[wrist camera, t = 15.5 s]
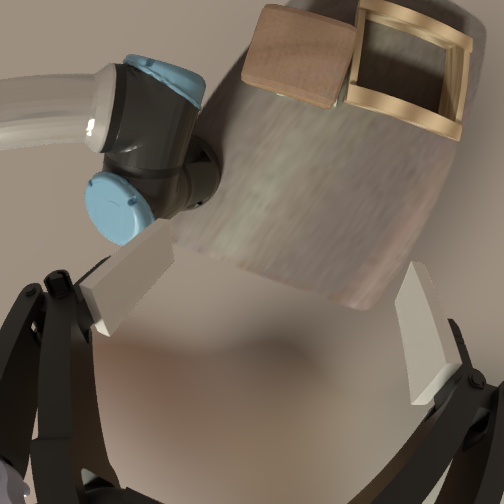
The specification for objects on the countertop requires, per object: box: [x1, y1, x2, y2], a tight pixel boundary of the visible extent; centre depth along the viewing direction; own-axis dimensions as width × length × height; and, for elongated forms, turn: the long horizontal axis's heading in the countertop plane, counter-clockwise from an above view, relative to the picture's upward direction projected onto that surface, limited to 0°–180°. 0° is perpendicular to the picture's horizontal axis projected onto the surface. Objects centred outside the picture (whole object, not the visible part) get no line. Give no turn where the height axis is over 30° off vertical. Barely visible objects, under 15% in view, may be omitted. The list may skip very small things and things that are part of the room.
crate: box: [343, 0, 472, 141], centre depth 29 cm, size 18×18×9 cm
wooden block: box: [241, 4, 358, 109], centre depth 29 cm, size 10×10×20 cm
